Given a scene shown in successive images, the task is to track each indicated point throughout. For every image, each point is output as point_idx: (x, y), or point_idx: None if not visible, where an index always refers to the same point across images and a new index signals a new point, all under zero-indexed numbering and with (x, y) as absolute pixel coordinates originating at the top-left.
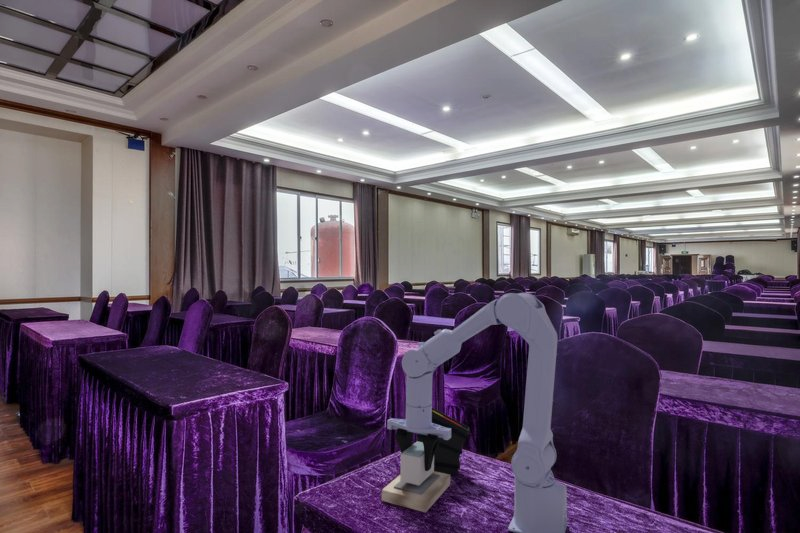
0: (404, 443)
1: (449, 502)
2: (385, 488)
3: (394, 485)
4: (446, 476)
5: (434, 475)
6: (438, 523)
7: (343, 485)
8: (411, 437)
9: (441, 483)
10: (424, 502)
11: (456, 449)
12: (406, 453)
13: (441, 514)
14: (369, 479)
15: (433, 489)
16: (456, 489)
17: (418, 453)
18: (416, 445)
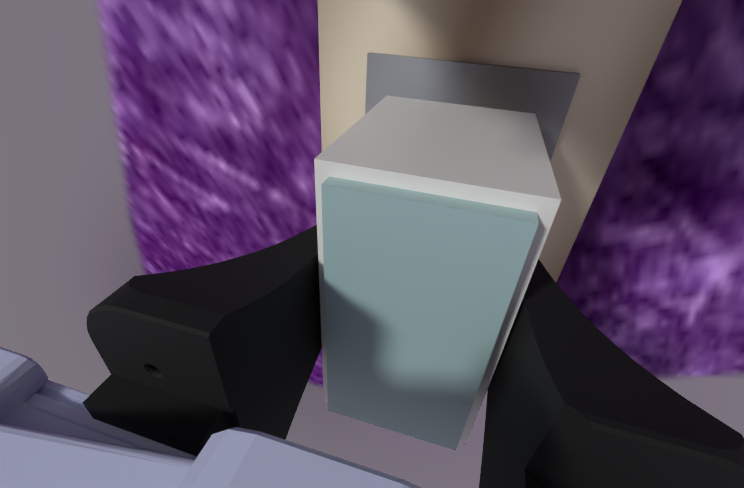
0: (293, 414)
1: (634, 228)
2: None
3: None
4: (640, 49)
5: (537, 99)
6: None
7: (171, 213)
8: (274, 320)
9: (596, 180)
10: None
11: None
12: (357, 413)
13: (591, 321)
14: (202, 131)
15: (548, 258)
16: (702, 55)
17: (441, 427)
18: (366, 297)
